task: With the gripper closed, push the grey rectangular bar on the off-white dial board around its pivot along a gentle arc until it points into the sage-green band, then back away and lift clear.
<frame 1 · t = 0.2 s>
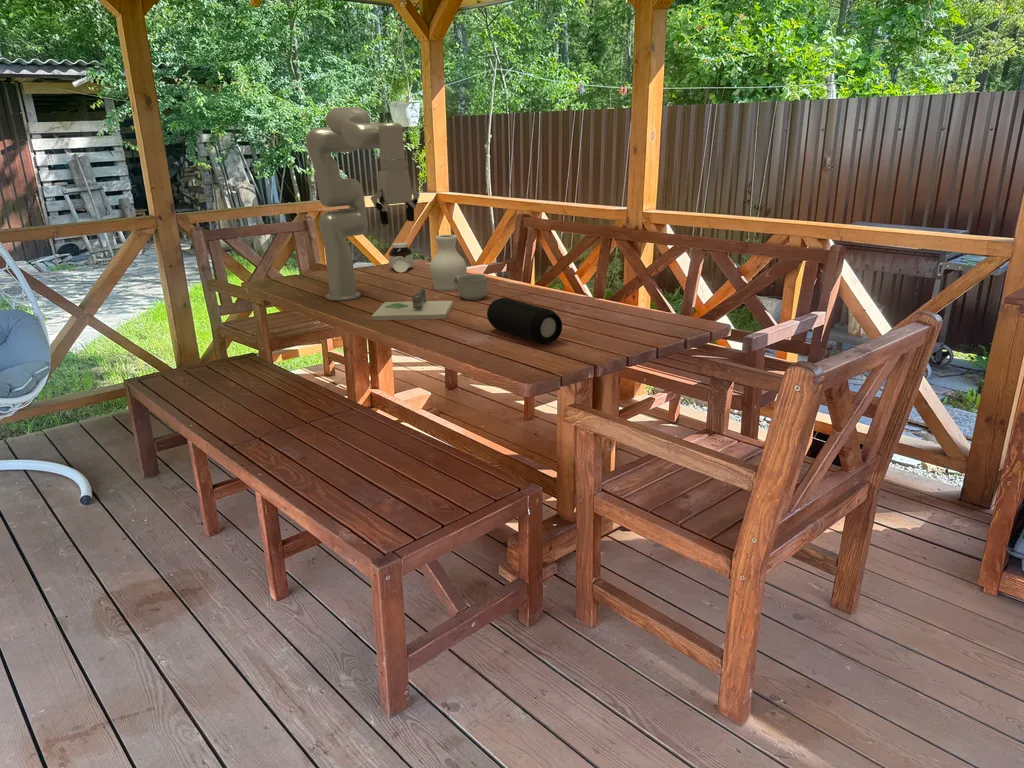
hand: (397, 222, 228), 31 cm above the table, tool pointing down, fingers open, 9 cm apart
vase: (449, 288, 283), on the table
dial board: (413, 312, 246), on the table
grey rectangular bar: (420, 297, 247), point 4 cm above the table, hinge at 0.0°
portable speaker: (523, 337, 213), on the table
spread jar: (402, 271, 322), on the table
teacup: (470, 298, 265), on the table
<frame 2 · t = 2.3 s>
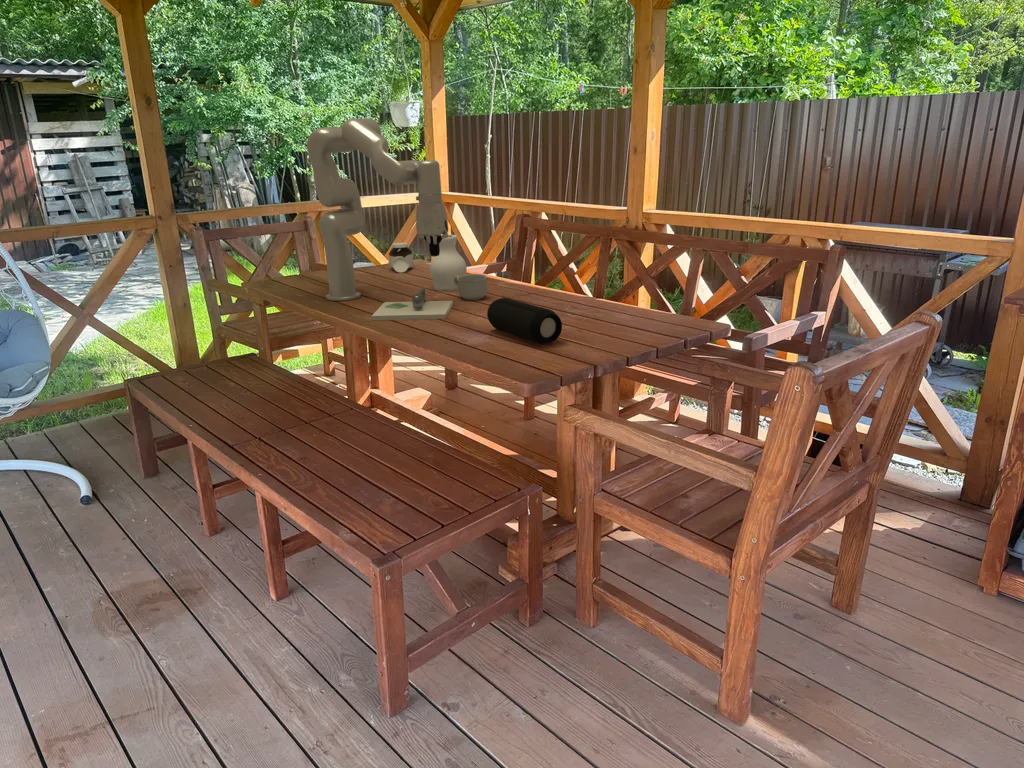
hand: (435, 255, 245), 18 cm above the table, tool pointing down, fingers closed
nothing on the table moved.
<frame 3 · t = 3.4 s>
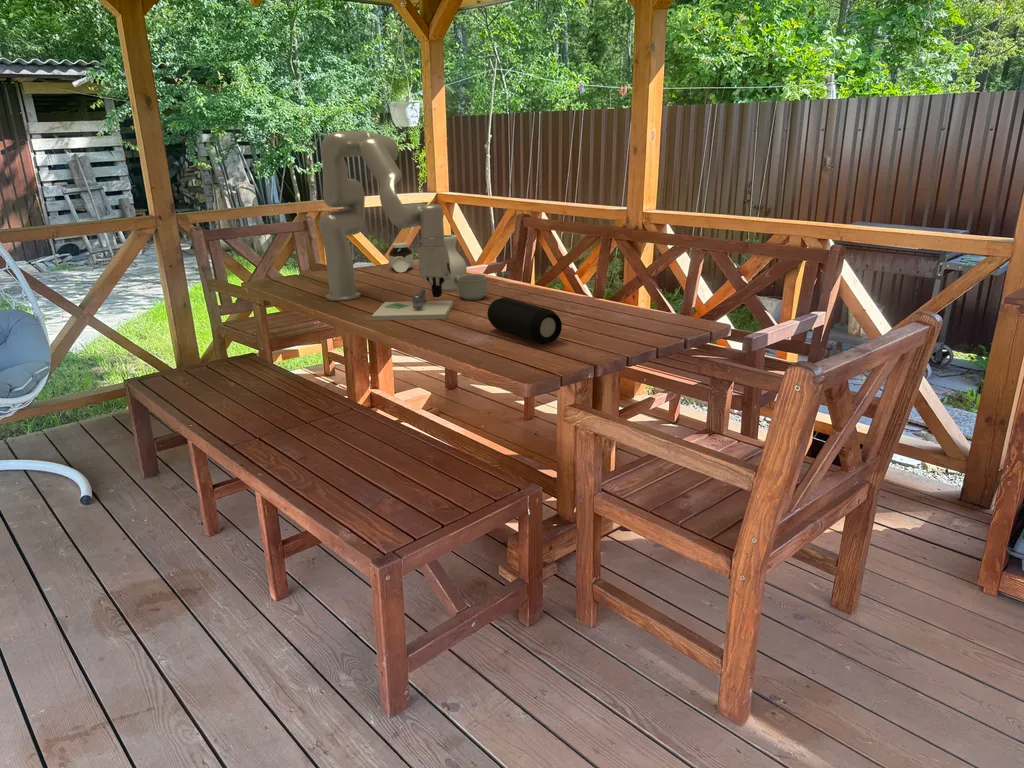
hand: (437, 296, 249), 4 cm above the table, tool pointing down, fingers closed
nothing on the table moved.
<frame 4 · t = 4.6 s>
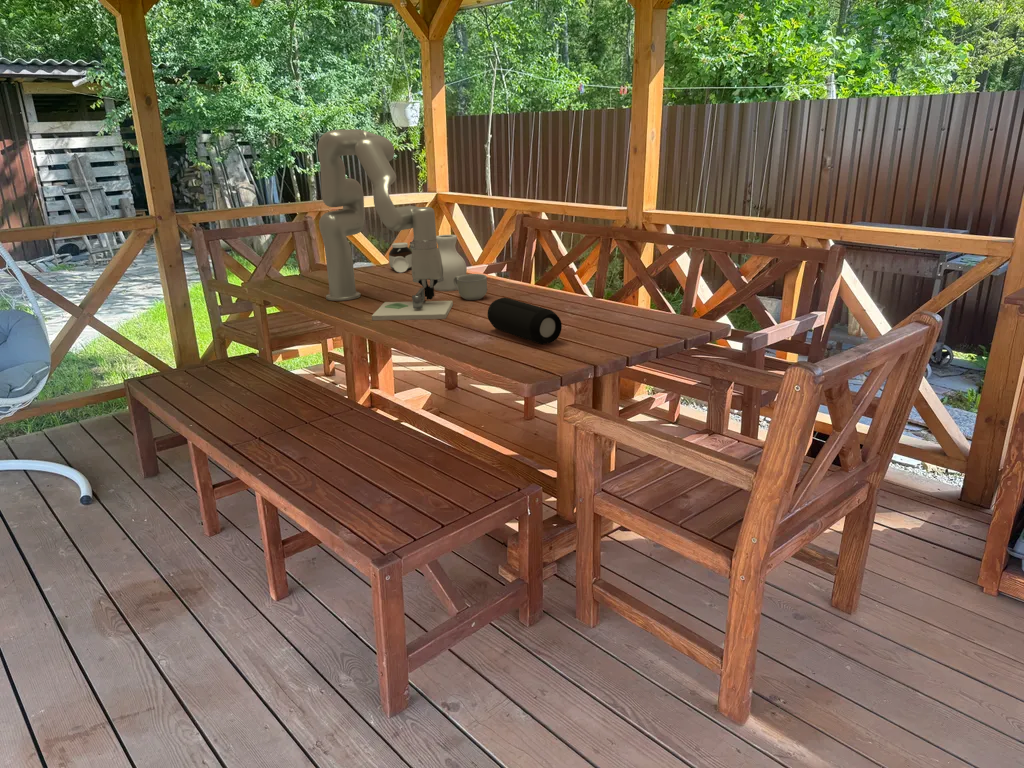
hand: (429, 298, 250), 3 cm above the table, tool pointing down, fingers closed
grey rectangular bar: (419, 297, 247), point 4 cm above the table, hinge at 1.6°, touching gripper
everything else where it was.
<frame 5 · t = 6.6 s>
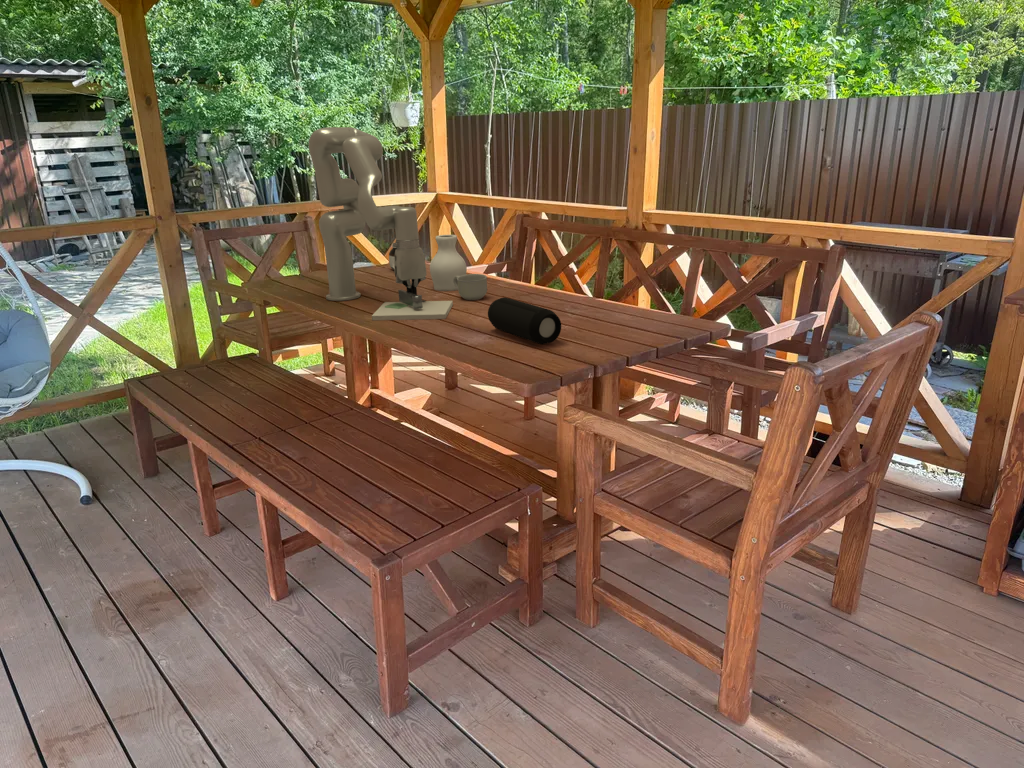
hand: (412, 298, 251), 3 cm above the table, tool pointing down, fingers closed
grey rectangular bar: (409, 298, 246), point 4 cm above the table, hinge at 36.3°, touching gripper
everything else where it was.
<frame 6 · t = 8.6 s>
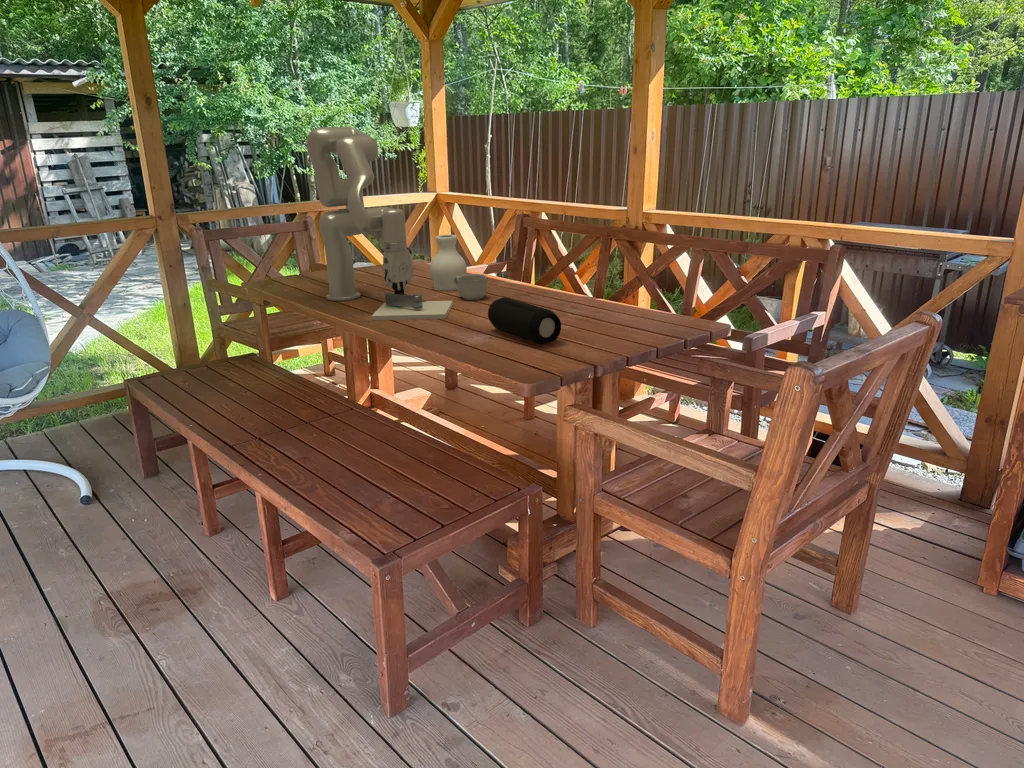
hand: (400, 300, 249), 3 cm above the table, tool pointing down, fingers closed
grey rectangular bar: (403, 300, 244), point 4 cm above the table, hinge at 63.2°
everything else where it was.
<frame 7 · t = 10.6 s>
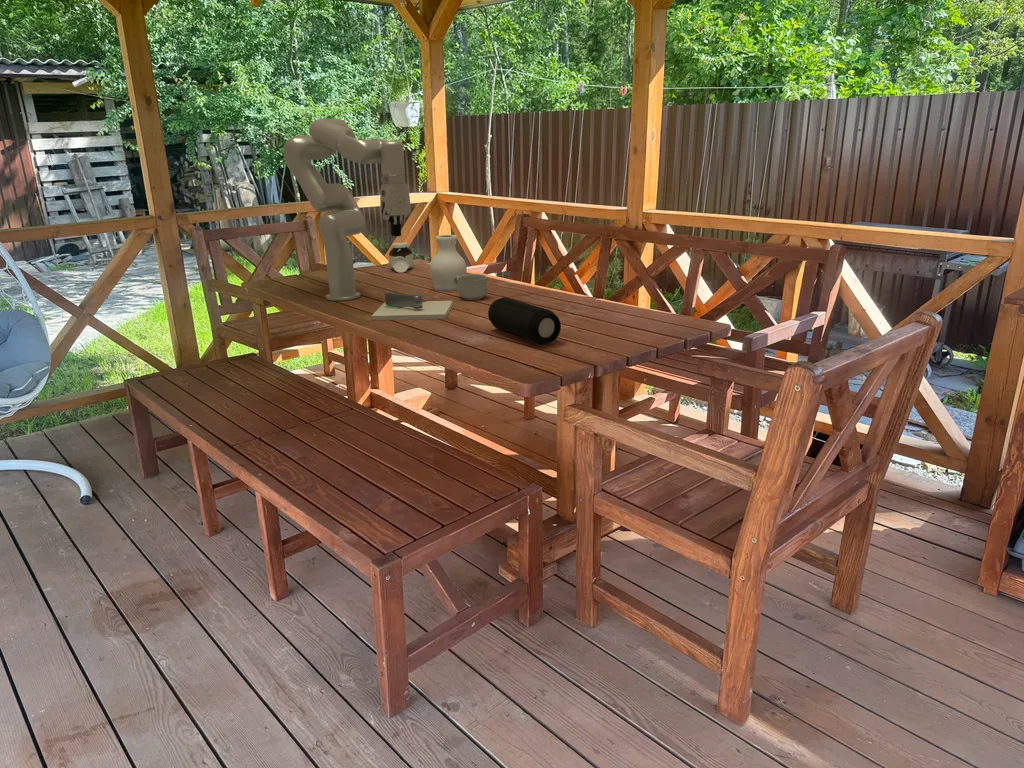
hand: (396, 235, 247), 24 cm above the table, tool pointing down, fingers closed
nothing on the table moved.
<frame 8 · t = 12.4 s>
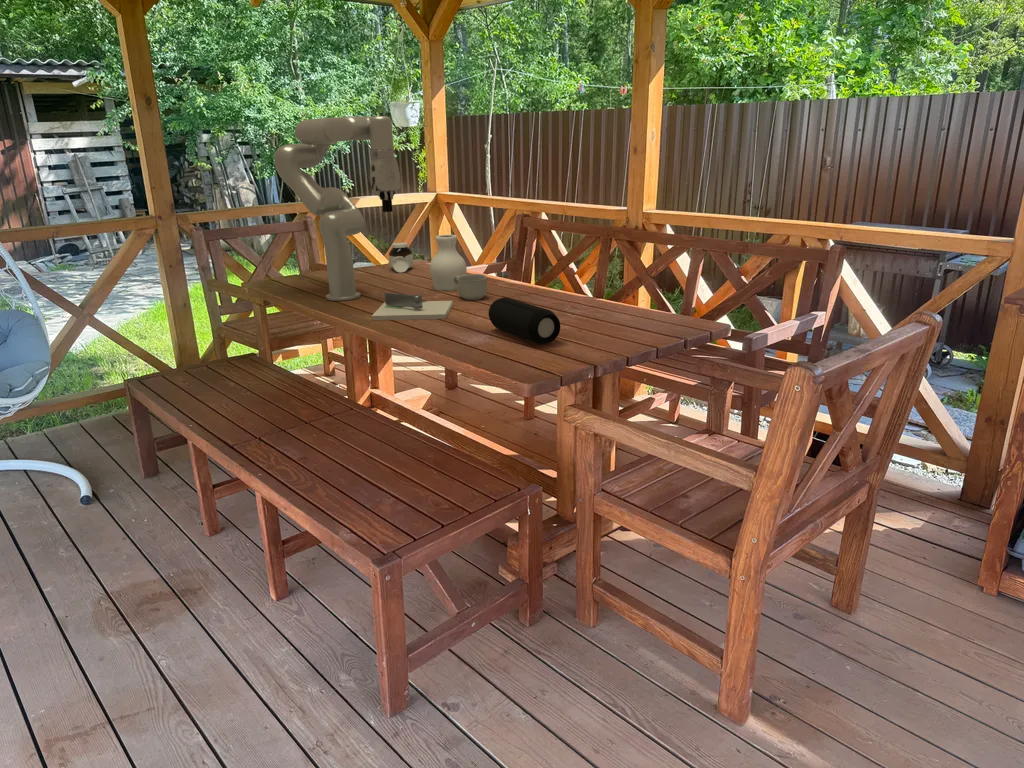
hand: (387, 211, 249), 32 cm above the table, tool pointing down, fingers closed
nothing on the table moved.
at the end: grey rectangular bar at +63° (first picture: +0°) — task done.
